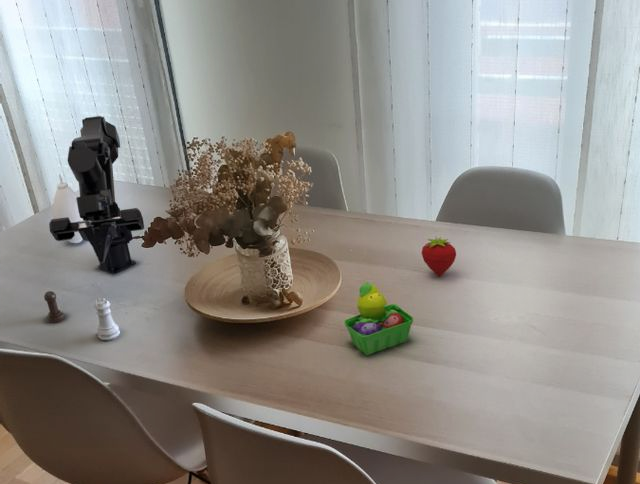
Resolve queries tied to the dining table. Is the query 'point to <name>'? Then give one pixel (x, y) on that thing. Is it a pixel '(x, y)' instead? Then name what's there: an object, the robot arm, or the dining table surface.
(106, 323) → the rook chess piece
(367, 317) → the fruit basket
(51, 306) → the walnut pawn
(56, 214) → the sauce bottle
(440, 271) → the strawberry
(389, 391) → the dining table surface
